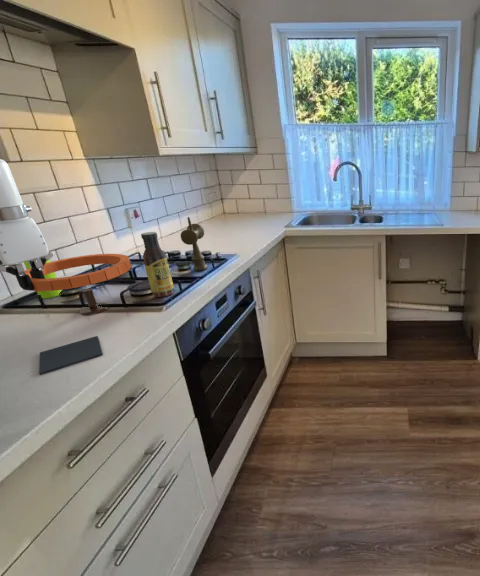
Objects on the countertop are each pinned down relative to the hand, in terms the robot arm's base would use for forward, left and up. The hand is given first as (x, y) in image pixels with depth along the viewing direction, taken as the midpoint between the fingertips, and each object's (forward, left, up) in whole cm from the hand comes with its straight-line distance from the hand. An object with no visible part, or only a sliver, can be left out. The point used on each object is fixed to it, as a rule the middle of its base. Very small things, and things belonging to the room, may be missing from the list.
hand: (34, 287), depth 91 cm
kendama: (+43, +21, -12) cm, 50 cm away
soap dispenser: (-1, +31, -12) cm, 33 cm away
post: (+9, +7, -12) cm, 17 cm away
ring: (+9, +6, -1) cm, 11 cm away
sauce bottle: (+27, +5, -12) cm, 30 cm away
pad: (+3, -19, -12) cm, 23 cm away
